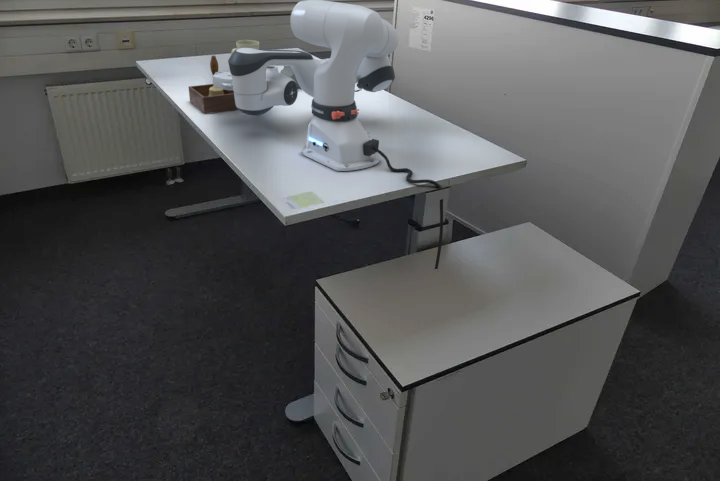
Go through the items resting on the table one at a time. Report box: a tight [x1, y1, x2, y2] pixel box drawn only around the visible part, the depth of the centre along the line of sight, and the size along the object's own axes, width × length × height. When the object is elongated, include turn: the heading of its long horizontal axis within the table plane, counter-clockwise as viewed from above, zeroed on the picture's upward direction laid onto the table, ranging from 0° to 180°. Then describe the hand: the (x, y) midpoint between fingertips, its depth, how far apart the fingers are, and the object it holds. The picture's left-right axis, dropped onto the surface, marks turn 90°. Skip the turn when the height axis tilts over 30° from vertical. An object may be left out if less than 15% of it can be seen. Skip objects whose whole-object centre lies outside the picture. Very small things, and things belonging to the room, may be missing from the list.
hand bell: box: [209, 55, 224, 96], centre depth 184 cm, size 8×8×16 cm
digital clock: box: [280, 66, 301, 89], centre depth 212 cm, size 16×9×11 cm, turn 20°
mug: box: [230, 39, 260, 56], centre depth 222 cm, size 11×10×12 cm
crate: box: [188, 83, 238, 115], centre depth 187 cm, size 14×14×5 cm
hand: (229, 72), depth 178 cm, fingers open, 8 cm apart
